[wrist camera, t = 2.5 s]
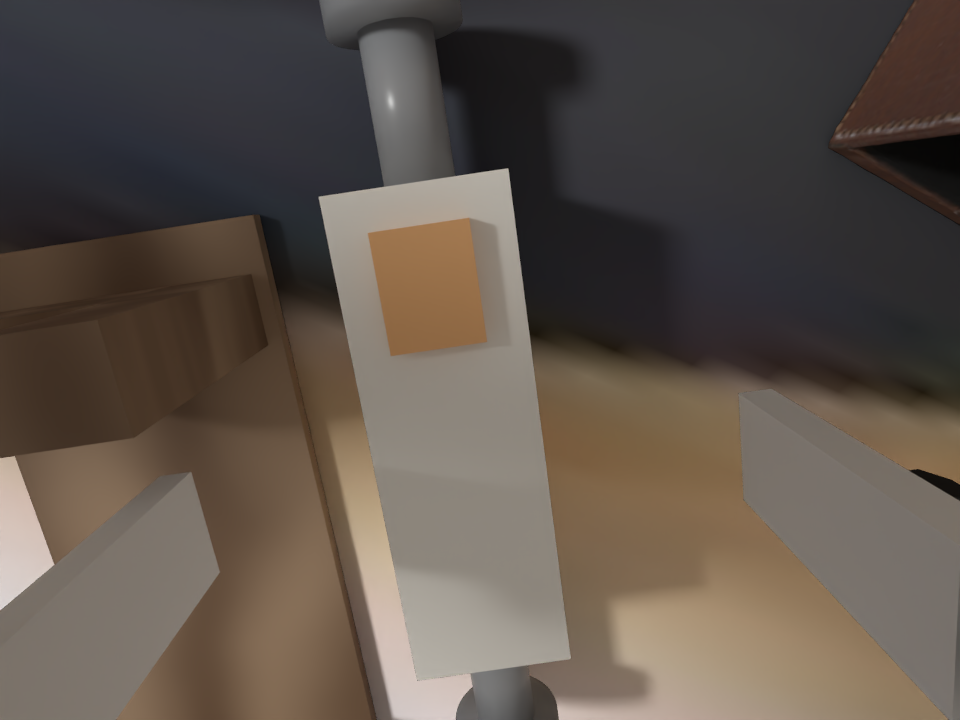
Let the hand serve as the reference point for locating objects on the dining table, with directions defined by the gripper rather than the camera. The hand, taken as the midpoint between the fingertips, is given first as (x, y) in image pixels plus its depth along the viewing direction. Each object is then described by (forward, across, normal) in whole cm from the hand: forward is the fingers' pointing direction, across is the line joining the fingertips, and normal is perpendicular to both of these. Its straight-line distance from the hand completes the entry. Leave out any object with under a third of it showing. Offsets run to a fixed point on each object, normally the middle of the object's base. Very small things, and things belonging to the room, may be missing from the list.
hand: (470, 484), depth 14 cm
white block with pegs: (+7, 0, 0) cm, 7 cm away
